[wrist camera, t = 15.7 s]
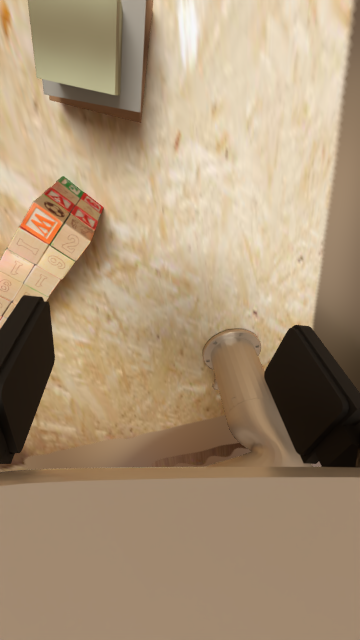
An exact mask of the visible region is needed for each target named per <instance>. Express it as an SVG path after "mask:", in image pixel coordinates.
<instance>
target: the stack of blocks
mask: <svg viewBox="0 0 360 640" xmlns="http://www.w3.org/2000/svg"><path fill="white" fill-rule="evenodd" d="M102 210H103V207H102V206H101V205H100V204H98V203H97V202H96V201H95V200H93V199H92V198H91V197H90V196H88V195H87V194H86V193H84V192H83V191H81V190H80V189H79V188H78V187H76V186H75V185H74V184H73V183H71V182H70V181H69V180H68V179H66V178H65V177H64V176H62V177H61V178H60V179H59V180H57V181H56V183H55V184H54V185H53V186H52V187H50V188H48V189H47V190H46V191H45V192H44V193H43V194H42V195H41V196H40V197H39V198H37V199H36V200H35V201H34V202H33V203H32V205H31V207H30V209H29V211H28V212H27V214H26V216H25V218H24V219H23V221H22V223H21V225H20V226H19V227H18V229H17V231H16V233H15V235H14V237H13V239H12V240H11V242H10V244H9V246H8V248H7V249H6V250H5V252H4V253H3V255H2V257H1V259H0V329H1V327H2V326H3V324H4V323H5V321H6V320H7V318H8V317H9V315H10V314H11V312H12V311H13V309H14V308H15V306H16V305H17V303H18V302H19V301H20V299H21V298H22V296H23V295H29V296H38V297H43V299H44V301H47V299H48V298H49V296H50V294H51V293H52V291H53V290H54V288H55V287H56V286H57V284H58V283H59V281H60V280H62V279H63V278H64V277H65V275H66V274H67V273H68V271H69V270H70V268H71V267H72V266H73V264H74V263H75V261H77V260H78V258H79V257H80V256H81V254H82V253H83V252H84V250H85V249H86V248H87V246H88V245H89V244H90V242H91V240H92V237H93V234H94V232H95V229H96V227H97V224H98V220H99V217H100V216H101V213H102Z"/></svg>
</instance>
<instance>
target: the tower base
mask: <svg viewBox="0 0 360 640" xmlns="http://www.w3.org/2000/svg"><path fill="white" fill-rule="evenodd" d="M152 7H153V0H146V15H145V35H144V54H143V74H142V93H141V111H140V112H135V111H130V110H125V109H119V108H114V107H109V106H103V105H98V104H93V103H88V102H82V101H77V100H72V99H66V98H61V97H56V96H50V95H49V98H50V100H52V101H56V102H60V103H64V104H68V105H72V106H76V107H80V108H84V109H88V110H92V111H96V112H100V113H104V114H108V115H112V116H116V117H120V118H124V119H128V120H132V121H136V122H140V123H141V118H142V108H143V98H144V88H145V78H146V68H147V58H148V47H149V37H150V27H151V17H152Z"/></svg>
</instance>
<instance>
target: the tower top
mask: <svg viewBox="0 0 360 640" xmlns="http://www.w3.org/2000/svg"><path fill="white" fill-rule="evenodd" d="M121 3H122V8H123V26H122V59H121V93H120V95H111V94H107V93H102V92H98V91H93V90H89V89H84V88H80V87H75V86H71V85H66V84H62V83H57V82H53V81H48V80H44V79H42V81H43V89H44V94H45V95H50V96H56V97H61V98H66V99H72V100H77V101H82V102H88V103H93V104H98V105H103V106H109V107H114V108H119V109H125V110H130V111H135V112H140V111H141V93H142V74H143V54H144V35H145V15H146V0H121Z"/></svg>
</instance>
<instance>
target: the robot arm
mask: <svg viewBox="0 0 360 640" xmlns="http://www.w3.org/2000/svg"><path fill="white" fill-rule="evenodd" d="M260 351H261V344H260V341H259V339H258V337H257V336H256V335H255V334H254V333H252V332H250V331H248V330H244V329H231V330H227V331H223V332H221V333H219V334H217V335H215V336H214V337H212V338H211V339H210V340H209V341H208V342H207V344H206V345H205V347H204V350H203V358H204V362H205V364H206V365H207V366H208V367H209V368H211V369H212V370H214V373H215V378H216V379H215V380H214V383H213V385H212V386H213V388H214V389H216V390H219V392H220V396H221V400H222V404H223V408H224V412H225V416H226V420H227V423H228V427H229V430H230V431H231V433H232V435H233V436H234V438H235V439H236V440H237V441H238V442H240V443H241V444H242V445H243V446H245V447H246V448H247V449H249V450H250V451H251V452H249V453H246V454H244V455H242V456H239V457H235V458H232V459H228V460H225V461H221V462H218V463H214V464H211V465H208V466H206V467H132V468H129V467H128V468H68V469H67V468H66V469H35V470H20V471H6V472H0V640H360V393H359V391H358V390H357V389H356V387H355V386H354V385H353V383H352V382H351V380H350V379H349V378H348V376H347V375H346V374H345V373H344V371H343V370H342V368H341V367H340V366H339V365H338V363H337V362H336V360H335V359H334V358H333V356H332V355H331V354H330V353H329V351H328V350H327V348H326V347H325V346H324V344H323V343H322V342H321V340H320V339H319V338H318V336H317V335H316V334H315V332H314V331H313V329H312V328H311V327H309V326H301V325H295V326H293V327H292V328H290V329H289V330H288V331H287V333H286V335H285V337H284V338H283V340H282V342H281V344H280V345H279V347H278V349H277V351H276V353H275V354H274V356H273V358H272V360H271V361H270V363H269V365H268V367H267V368H266V370H265V371H264V369H263V366H262V364H261V362H260V360H259V357H258V356H259V354H260ZM54 360H55V354H54V344H53V335H52V325H51V316H50V306H49V302H46V301H44V299H43V297H38V296H29V295H23V296H22V298H21V299H20V301H19V302H18V303H17V305H16V306H15V308H14V309H13V311H12V312H11V314H10V315H9V317H8V318H7V320H6V321H5V323H4V324H3V326H2V327H1V329H0V464H11V462H12V459H13V456H14V454H15V453H20V452H21V450H22V448H23V446H24V443H25V441H26V438H27V435H28V433H29V430H30V427H31V424H32V422H33V419H34V416H35V414H36V411H37V408H38V406H39V403H40V400H41V398H42V395H43V392H44V389H45V387H46V384H47V381H48V379H49V376H50V373H51V371H52V368H53V365H54ZM318 461H320V463H321V465H322V467H313V466H312V464H316V463H317V462H318Z"/></svg>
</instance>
